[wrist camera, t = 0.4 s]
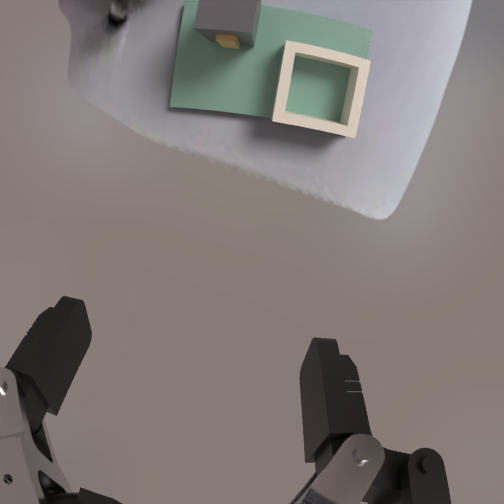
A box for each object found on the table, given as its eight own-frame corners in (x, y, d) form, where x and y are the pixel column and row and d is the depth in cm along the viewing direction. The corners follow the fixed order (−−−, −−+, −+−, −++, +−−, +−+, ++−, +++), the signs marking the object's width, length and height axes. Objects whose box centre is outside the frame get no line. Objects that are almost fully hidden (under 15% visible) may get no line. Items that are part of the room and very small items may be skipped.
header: (283, 44, 26) (286, 40, 23) (361, 62, 26) (370, 60, 24) (271, 118, 30) (272, 121, 27) (347, 133, 30) (354, 138, 27)
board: (187, 2, 24) (185, 0, 23) (368, 31, 25) (371, 30, 24) (172, 106, 30) (169, 106, 29) (349, 133, 31) (351, 134, 30)
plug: (217, 4, 24) (202, -20, 17) (261, 8, 24) (260, -16, 17) (209, 46, 26) (192, 34, 19) (253, 51, 26) (250, 39, 19)
